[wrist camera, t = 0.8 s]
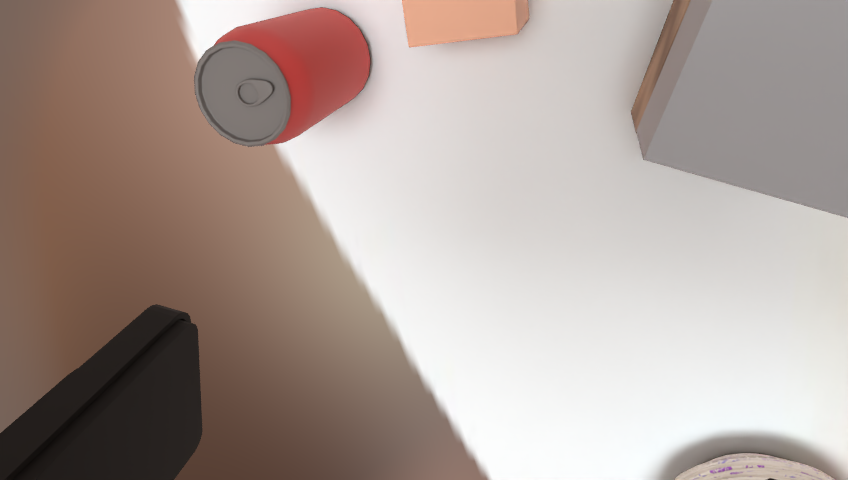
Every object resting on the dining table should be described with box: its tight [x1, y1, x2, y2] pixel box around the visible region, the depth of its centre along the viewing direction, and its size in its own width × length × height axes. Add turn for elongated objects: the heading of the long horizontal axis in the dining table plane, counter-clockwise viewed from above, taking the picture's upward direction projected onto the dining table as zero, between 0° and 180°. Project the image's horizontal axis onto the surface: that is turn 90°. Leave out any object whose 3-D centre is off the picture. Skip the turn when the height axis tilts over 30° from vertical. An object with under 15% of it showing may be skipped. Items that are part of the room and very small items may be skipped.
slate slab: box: [637, 0, 848, 218], centre depth 28 cm, size 10×10×5 cm
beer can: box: [194, 7, 370, 147], centre depth 35 cm, size 7×7×12 cm
